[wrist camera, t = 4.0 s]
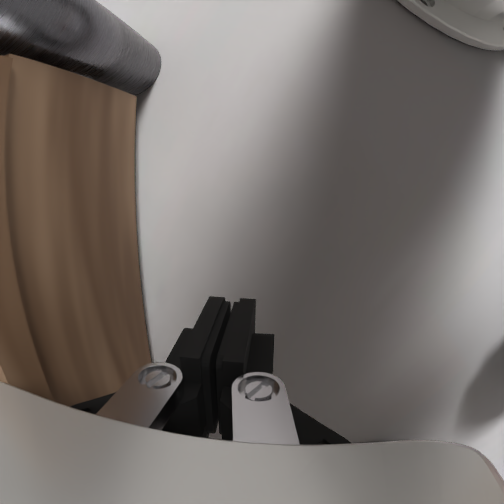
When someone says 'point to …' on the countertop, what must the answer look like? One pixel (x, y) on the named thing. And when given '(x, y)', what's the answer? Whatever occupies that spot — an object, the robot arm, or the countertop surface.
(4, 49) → the hinge post
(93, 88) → the walnut gate
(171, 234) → the countertop surface
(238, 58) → the countertop surface
